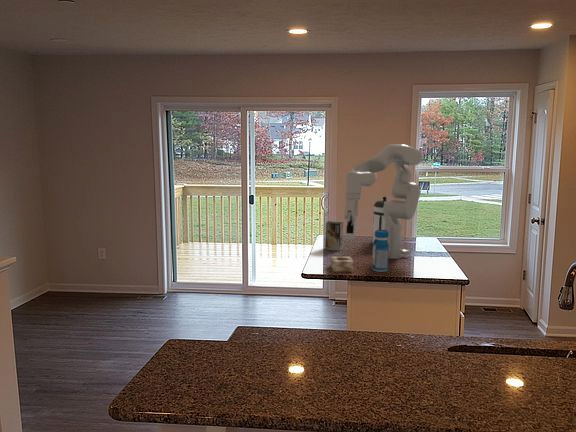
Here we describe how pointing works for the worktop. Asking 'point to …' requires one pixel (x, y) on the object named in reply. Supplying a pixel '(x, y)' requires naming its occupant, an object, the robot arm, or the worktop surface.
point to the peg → (352, 236)
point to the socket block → (342, 264)
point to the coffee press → (378, 216)
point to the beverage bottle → (380, 251)
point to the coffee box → (334, 235)
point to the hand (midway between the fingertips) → (350, 232)
